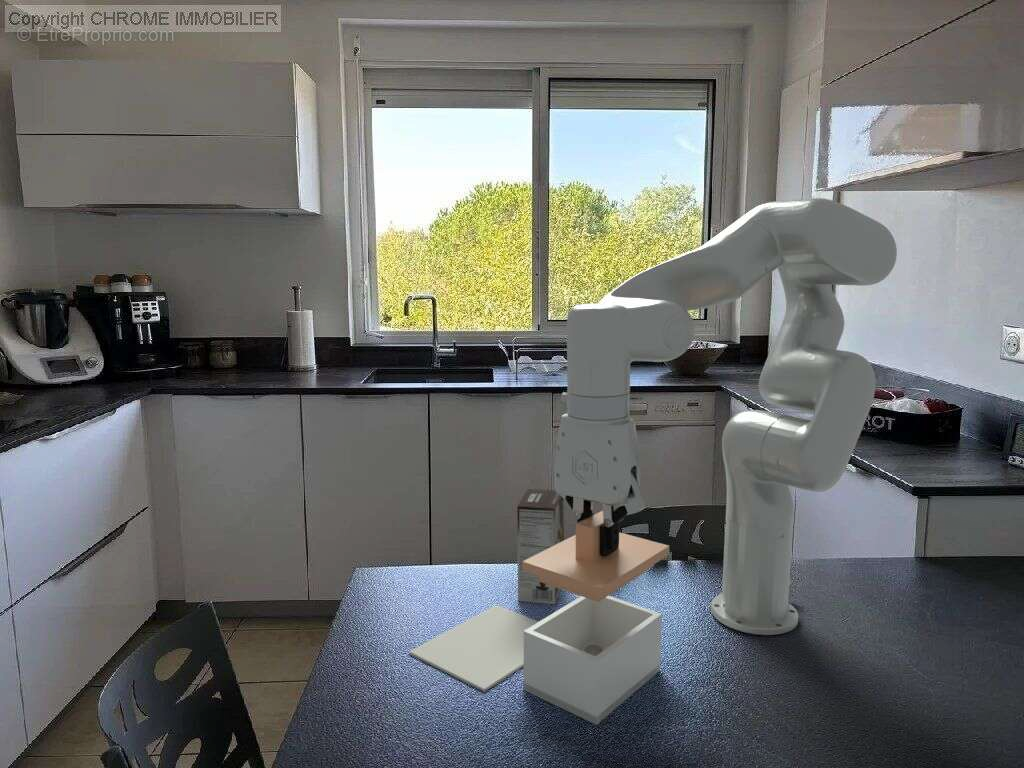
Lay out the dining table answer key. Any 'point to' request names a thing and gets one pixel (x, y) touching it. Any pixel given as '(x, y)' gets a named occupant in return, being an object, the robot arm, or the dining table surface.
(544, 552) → the lid
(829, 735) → the dining table surface
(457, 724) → the dining table surface
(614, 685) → the tub
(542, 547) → the coffee box
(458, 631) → the mat
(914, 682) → the dining table surface
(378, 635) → the dining table surface
